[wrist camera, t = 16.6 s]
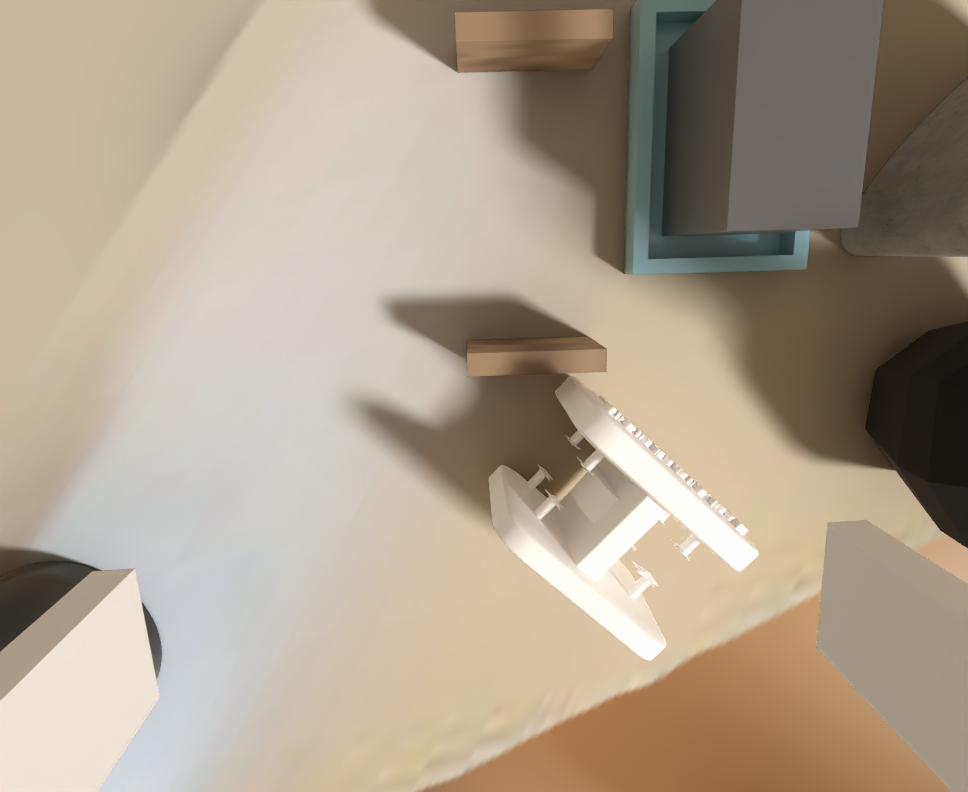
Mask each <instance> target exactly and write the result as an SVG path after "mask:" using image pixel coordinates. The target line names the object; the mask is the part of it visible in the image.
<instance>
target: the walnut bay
mask: <svg viewBox="0 0 968 792" xmlns="http://www.w3.org/2000/svg"><path fill="white" fill-rule="evenodd" d="M455 31H456V53H457V70H458V73H461V72H503V71H546V70H588V69H592V68H593V67H594V65H595V64H596V62H597V61H598V59H599V58H600V57H601V55H602V54H603V52H604V51H605V49H606V48H607V46H608V45H609V43H610V42H611V40H612V39H613V9H589V10H543V11H497V12H455ZM606 362H607V349H606V348H604V347H603V346H602V345H600V344H599V343H597V342H596V341H594V340H593V339H592V338H590V337H589V336H587V337H556V338H524V339H493V340H467V371H468V376H499V375H529V374H559V373H590V372H606Z"/></svg>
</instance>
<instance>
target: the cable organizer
mask: <svg viewBox="0 0 968 792" xmlns="http://www.w3.org/2000/svg"><path fill="white" fill-rule="evenodd" d="M555 394H556V396H557V398H558V399H559V401H560V403H561V404H562V406H563V408H564V409H565V411H566V412H567V414H568V416H569V417H570V419H571V421H572V422H573V424H574V425H575V427H576V428H577V429H578V430H577V431H576V432H575V434H574V435H573V436H572V437H571V438H569V437H568V436H567V435H566V434H565V433H564V434H565V435H566V437H567V438H568V440H569V442H570V443H571V444H572V445H573V446H574V447H576V448H577V449H578V448H579V447H578V446H577V444H578V443H579V442H580V441H581V440H582V439H583V438H585V439H586V440H587V441H588V442H589V443H590V444H591V445H592V446H593V447H594V448H595V449H596V450H595V451H594V452H593V453H592V454H591V455H590V456H589V458H588V459H587V460H586V461H585V462H584V463H583V462H582V461H581V460H580V459H579V458H578V457H577V458H578V459H579V461H580V462H581V465H582V466H583V467H584V469H585V470H586V471H588V472H587V473H586V474H585V475H584V476H583V478H582V479H581V480H580V481H579V482H578V483H577V484H576V485H575V487H574V488H573V489H572V490H571V491H570V492H569V493H568V494H567V495H566V496H565V497H564V498H563V499H562V500H561V501H560V502H559V501H558V500H557V499H556V497H555V495H551V494H550V493H549V492H548V491H547V490H546V489H545V490H546V492H547V493H548V495H549V497H548V498H547V497H545V496H544V495H543V494H542V493H541V492H540V491H538V490H537V489H536V487H537V486H538V484H539V483H540V482H541V481H542V480H543V479H544V478H545V477H547V478H548V480H549V481H550V479H552V477H551V476H550V475H549V474H548V472H547V471H546V469H543V468H542V467H541V466H540V465H538V464H537V465H538V466H539V468H540V469H539V471H538V472H537V473H536V474H535V475H534V476H533V477H532V478H531V479H530V480H529V481H527V480H526V479H524V478H523V477H522V476H521V475H519V474H518V473H517V472H515V471H514V470H513V469H511V468H509V467H507V466H505V465H500V466H499V467H498V469H497V470H496V471H495V472H494V473H493V474H492V475H491V476H490V477H489V491H490V502H491V513H492V524H493V527H494V529H495V531H496V533H497V534H498V536H499V537H500V539H501V540H502V541H503V542H504V544H505V545H506V546H507V547H508V548H509V549H510V550H511V551H512V552H513V553H514V554H515V555H516V556H517V557H518V558H519V559H521V560H522V561H523V562H524V563H525V564H527V565H528V566H529V567H530V568H532V569H533V570H534V571H535V572H536V573H538V574H539V575H540V576H541V577H543V578H544V579H545V580H546V581H547V582H549V583H550V584H551V585H552V586H554V587H555V588H556V589H557V590H558V591H560V592H561V593H562V594H563V595H565V596H566V597H567V598H568V599H569V600H571V601H572V602H573V603H574V604H576V605H577V606H578V607H579V608H580V609H582V610H583V611H584V612H585V613H587V614H588V615H589V616H590V617H591V618H593V619H594V620H595V621H596V622H598V623H599V624H600V625H601V626H602V627H604V628H605V629H606V630H607V631H609V632H610V633H611V634H612V635H613V636H615V637H616V638H617V639H618V640H620V641H621V642H622V643H623V644H624V645H626V646H627V647H628V648H629V649H631V650H632V651H633V652H634V653H636V654H637V655H639V656H640V657H642V658H644V659H646V660H652V659H653V658H654V657H655V656H656V655H657V654H658V653H659V652H660V651H661V650H663V649H664V648H665V647H666V641H665V639H664V637H663V635H662V633H661V631H660V629H659V627H658V625H657V623H656V621H655V619H654V617H653V615H652V613H651V611H650V609H649V607H648V605H647V603H646V601H645V599H644V597H643V595H642V593H641V592H642V591H643V590H644V589H645V588H646V587H647V586H648V585H649V584H651V585H652V586H653V587H654V585H653V584H655V585H657V584H656V582H655V581H654V579H653V578H652V576H651V575H650V573H649V572H648V571H647V570H645V569H644V568H642V567H641V566H639V565H638V564H636V563H635V562H633V561H632V560H631V561H632V562H633V563H634V565H635V566H636V567H637V568H638V571H637V572H638V573H639V574H641V575H642V576H641V577H640V578H639V579H638V580H637V581H636V582H635V580H634V578H633V576H632V575H631V573H630V572H629V570H628V569H627V568H626V567H625V566H624V565H623V563H622V562H621V561H620V560H619V558H620V557H621V556H622V555H623V554H624V553H625V552H626V551H627V550H628V549H629V548H630V547H631V548H632V549H633V550H634V551H635V549H636V547H635V546H634V545H633V544H634V543H635V542H636V541H637V540H638V539H639V538H640V537H642V536H643V535H644V534H645V533H646V532H647V531H648V530H649V529H650V528H651V527H652V526H653V525H654V524H655V523H656V522H657V521H659V522H660V523H661V524H663V523H664V522H663V521H664V520H665V519H666V518H667V517H668V516H669V515H670V516H672V517H673V518H674V519H675V520H676V521H677V522H678V523H679V524H681V525H682V526H683V527H684V528H685V529H686V530H687V531H688V532H690V533H691V535H690V536H689V537H688V538H687V539H686V540H685V541H684V542H683V543H682V544H681V545H680V546H679V545H678V544H677V543H674V542H673V541H672V540H671V539H670V540H671V541H672V542H673V544H674V545H675V547H676V548H677V550H678V551H679V552H680V553H681V554H682V555H683V556H685V557H686V558H687V559H688V557H689V556H688V554H689V553H690V552H691V551H692V550H693V549H694V548H695V547H696V546H697V545H698V544H699V543H700V542H701V543H702V544H703V545H704V546H705V547H706V548H708V549H709V550H710V551H711V552H712V553H713V554H714V555H715V556H717V557H718V558H719V559H720V560H722V561H723V562H724V563H725V564H727V565H728V566H730V567H731V568H733V569H734V570H736V571H739V572H740V571H742V570H743V569H744V568H745V567H746V566H747V565H748V564H749V563H750V562H751V561H753V560H754V559H755V558H756V557H757V556H758V555H759V553H758V551H757V549H756V548H755V546H754V545H753V544H752V542H751V541H750V540H749V539H748V538H747V537H746V536H745V535H744V534H745V533H746V532H747V531H748V530H747V529H746V528H745V527H744V526H743V525H742V524H741V523H740V522H739V521H738V520H737V519H736V518H735V517H734V516H733V515H732V514H730V513H729V512H728V511H727V510H726V509H725V508H724V507H723V506H722V505H721V504H720V503H719V502H718V501H716V500H715V499H714V498H713V497H712V496H711V495H710V494H709V493H708V492H707V491H705V490H704V489H703V488H702V487H701V486H700V485H699V484H698V483H697V482H695V481H694V480H693V479H692V478H691V477H690V476H689V475H688V474H686V473H685V472H684V471H683V470H682V469H681V468H680V467H679V466H678V465H677V464H676V463H675V462H674V461H673V460H672V459H671V458H670V457H669V456H667V455H666V454H665V453H664V452H662V451H661V450H660V449H659V448H658V447H657V446H656V445H655V444H654V443H653V442H652V441H651V440H650V439H648V438H647V437H646V436H645V435H644V434H643V433H642V432H641V431H640V430H639V429H638V428H637V429H636V428H635V427H634V426H633V425H632V423H631V422H630V421H629V420H628V419H626V418H625V417H624V416H623V415H622V414H621V413H620V412H619V411H617V410H616V409H615V408H614V407H613V406H612V405H611V404H610V403H609V402H608V401H606V400H605V399H604V398H603V397H602V396H600V397H599V396H598V395H597V394H596V393H595V392H593V391H592V390H591V389H590V388H589V387H587V386H586V385H585V384H584V383H582V382H581V381H579V380H578V379H576V378H574V377H572V376H569V377H568V378H567V379H566V380H565V381H564V382H563V383H562V384H561V385H560V387H559V388H558V389H557V390H556V391H555ZM579 449H580V448H579ZM579 449H578V450H579ZM549 478H550V479H549ZM552 480H553V479H552ZM664 524H665V523H664ZM664 524H663V525H664ZM636 550H637V549H636ZM635 552H636V551H635ZM687 556H688V557H687ZM689 558H690V557H689ZM688 560H689V559H688ZM689 561H690V560H689ZM657 586H658V585H657Z"/></svg>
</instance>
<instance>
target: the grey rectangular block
mask: <svg viewBox="0 0 968 792" xmlns="http://www.w3.org/2000/svg"><path fill="white" fill-rule="evenodd" d="M883 4H884V0H716V1H715V2H714V3H713V4H712V5H711V6H710V7H709V8H708V9H707V10H706V11H705V12H704V13H703V14H702V15H701V16H700V17H699V18H698V19H697V20H696V21H695V22H694V23H693V24H692V25H691V26H690V28H689V29H688V30H687V31H686V32H685V33H684V34H683V35H682V36H681V37H680V38H679V39H678V40H677V41H676V42H675V43H674V44H673V45H672V46H671V47H670V48H669V65H668V90H667V115H666V140H665V165H664V190H663V215H662V237H663V236H699V235H735V234H765V233H780V232H795V231H810V230H826V229H841V228H856V227H858V225H859V216H860V208H861V199H862V190H863V181H864V172H865V163H866V155H867V146H868V137H869V128H870V119H871V110H872V102H873V93H874V84H875V75H876V66H877V57H878V49H879V40H880V31H881V22H882V13H883Z"/></svg>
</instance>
